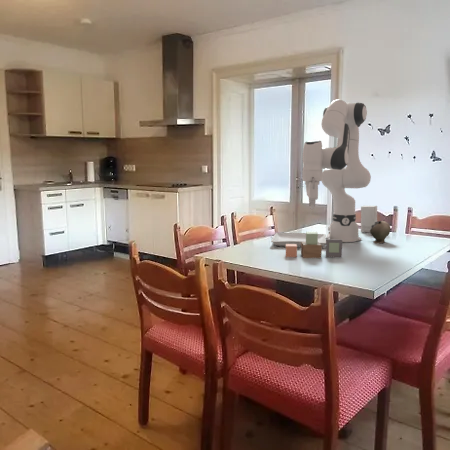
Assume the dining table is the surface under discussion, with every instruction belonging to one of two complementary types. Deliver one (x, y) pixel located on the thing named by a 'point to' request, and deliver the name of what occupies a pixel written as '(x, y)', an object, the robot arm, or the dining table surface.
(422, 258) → the dining table surface
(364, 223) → the skincare box
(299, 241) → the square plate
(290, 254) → the terracotta cube
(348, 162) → the robot arm
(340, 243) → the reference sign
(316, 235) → the sage green cube
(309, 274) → the dining table surface
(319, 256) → the walnut block
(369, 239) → the dining table surface
